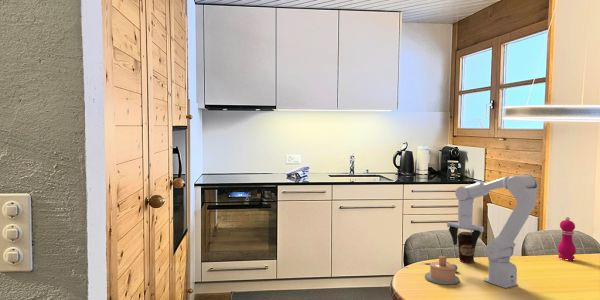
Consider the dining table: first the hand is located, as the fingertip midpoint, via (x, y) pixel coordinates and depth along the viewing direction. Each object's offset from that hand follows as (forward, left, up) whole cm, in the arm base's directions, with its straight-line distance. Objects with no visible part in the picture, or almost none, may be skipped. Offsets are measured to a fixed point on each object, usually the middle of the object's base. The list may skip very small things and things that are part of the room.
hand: (464, 246), depth 170 cm
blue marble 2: (+1, +5, -10) cm, 12 cm away
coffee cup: (+8, -12, -11) cm, 18 cm away
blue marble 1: (+5, +5, -10) cm, 12 cm away
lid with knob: (-3, +17, -10) cm, 19 cm away
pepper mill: (-12, -56, -11) cm, 59 cm away
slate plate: (-3, +17, -10) cm, 20 cm away
